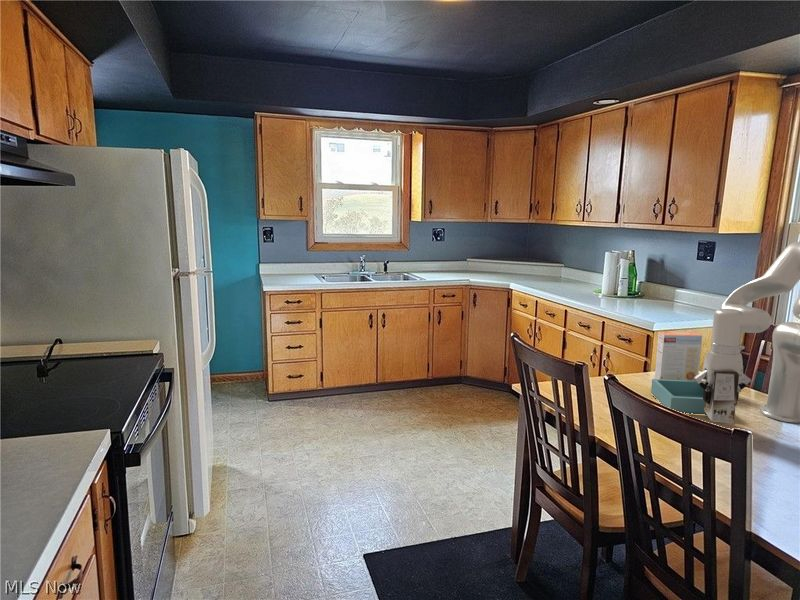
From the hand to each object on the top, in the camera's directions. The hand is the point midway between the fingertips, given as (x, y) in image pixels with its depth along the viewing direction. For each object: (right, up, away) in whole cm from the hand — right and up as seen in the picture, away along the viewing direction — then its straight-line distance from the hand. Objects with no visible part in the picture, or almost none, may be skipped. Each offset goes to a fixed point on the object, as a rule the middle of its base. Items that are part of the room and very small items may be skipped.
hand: (719, 401), depth 156 cm
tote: (0, -5, +17) cm, 18 cm away
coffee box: (0, -5, +1) cm, 5 cm away
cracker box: (+6, -1, +37) cm, 38 cm away
